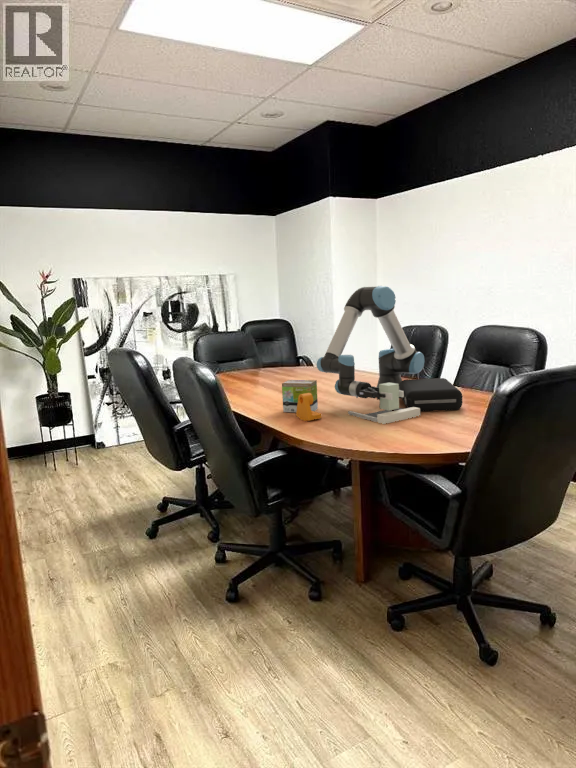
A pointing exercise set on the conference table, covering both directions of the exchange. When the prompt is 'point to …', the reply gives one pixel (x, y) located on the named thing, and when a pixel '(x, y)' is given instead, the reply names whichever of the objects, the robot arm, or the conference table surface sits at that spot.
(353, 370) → the robot arm
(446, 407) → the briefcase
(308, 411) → the bracket
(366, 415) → the track rails
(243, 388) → the conference table surface
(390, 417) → the end stop
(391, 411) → the stop pad
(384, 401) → the block
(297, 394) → the tea box
